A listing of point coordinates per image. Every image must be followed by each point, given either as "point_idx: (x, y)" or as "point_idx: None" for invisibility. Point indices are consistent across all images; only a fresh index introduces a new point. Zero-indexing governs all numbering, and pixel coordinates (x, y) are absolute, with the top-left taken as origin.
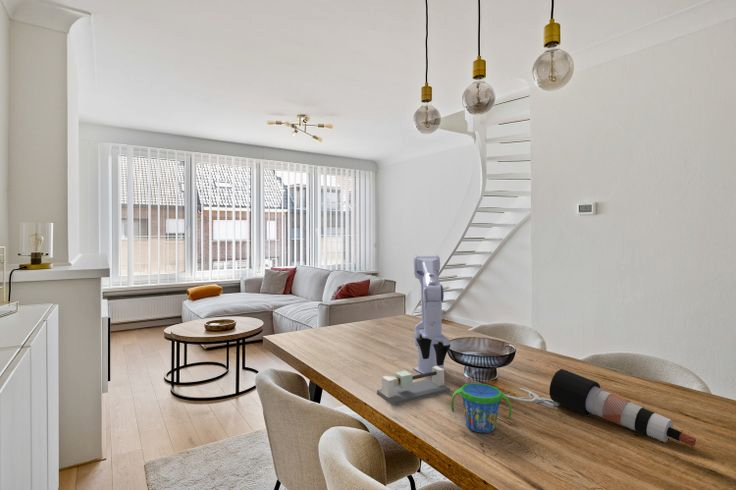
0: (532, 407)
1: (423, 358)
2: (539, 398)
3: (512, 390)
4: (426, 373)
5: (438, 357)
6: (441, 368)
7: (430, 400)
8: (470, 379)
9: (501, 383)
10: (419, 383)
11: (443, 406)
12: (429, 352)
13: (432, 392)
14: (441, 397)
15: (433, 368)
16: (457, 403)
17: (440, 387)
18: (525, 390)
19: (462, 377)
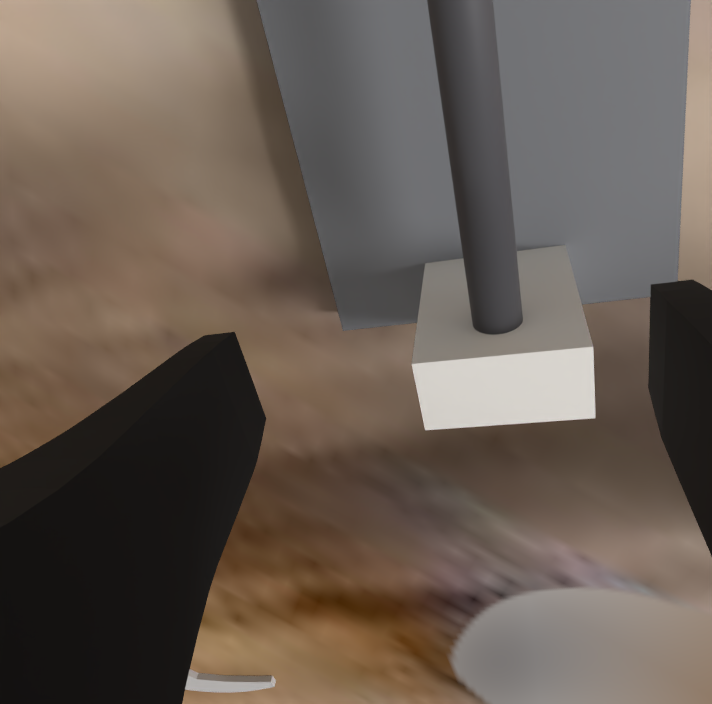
0: None
1: (671, 285)
2: None
3: (258, 644)
4: (470, 170)
5: (91, 422)
6: (472, 420)
7: (180, 5)
8: (534, 575)
9: (381, 664)
10: (605, 73)
11: (24, 73)
12: (683, 486)
13: (284, 101)
14: (236, 166)
15: (553, 342)
16: (87, 235)
17: (384, 254)
18: (227, 683)
19: (605, 556)
